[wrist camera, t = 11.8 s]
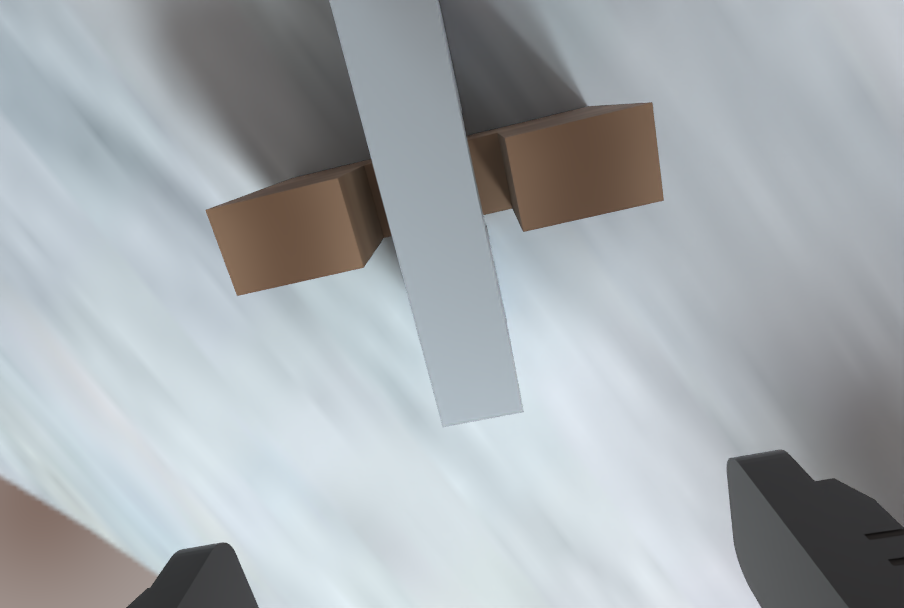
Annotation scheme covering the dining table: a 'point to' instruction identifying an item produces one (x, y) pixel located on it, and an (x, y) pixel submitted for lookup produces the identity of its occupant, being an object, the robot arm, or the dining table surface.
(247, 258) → the walnut stand
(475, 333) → the blue-grey plate
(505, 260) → the dining table surface
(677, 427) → the dining table surface
